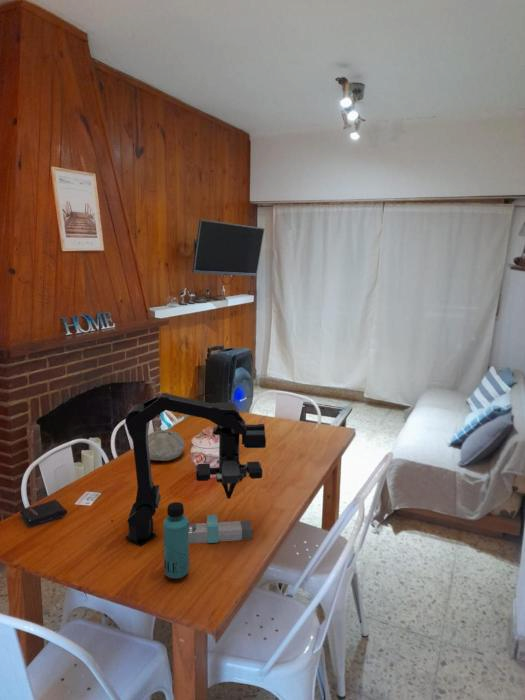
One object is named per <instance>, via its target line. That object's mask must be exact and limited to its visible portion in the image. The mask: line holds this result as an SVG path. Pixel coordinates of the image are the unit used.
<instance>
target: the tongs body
mask: <svg viewBox="0 0 525 700" xmlns="http://www.w3.org/2000/svg"><path fill="white" fill-rule="evenodd" d="M195 524H196V523H195V522H194V523H193V522H191V523H189V522H188V545H189V544H204V543H208V530H207V527H204V528H196V525H195ZM249 539H250V540H252V539H253V528H252V524H251V525H236V526H220V527H218V543H219V542H229V541H230V542H231V541H246V540H249Z"/></svg>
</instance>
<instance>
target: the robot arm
mask: <svg viewBox="0 0 525 700" xmlns="http://www.w3.org/2000/svg"><path fill="white" fill-rule="evenodd" d="M239 409H240V408H239V407H238V406H237V405H236V404H235V403H233V402H224V401H223V402H220V401H219V402H206V401H202V400H201V401H200V400H197V399H191V398H187V397H184V396H183V397H182V396H179V395H174V394H171V393H168V392H162V393H160V394H159V395H157V396H155V397H153V398H151V399H149V400H146V402H143V403H136V404H134V405H133V406H132V407H131V408H130V410H129V411H128V413H127V415H126V416H125V420H124V423H125V426H126V430H127V432H128V434H129V437H130V438H131V440H132V444H133V446H132V447H133V455H134V465H135V472H136V473H135V474H136V483H137V492H136V497H135V502H133V504H132V506H131V508H130V512H129V515H128V517H127V523H128V535H126V536H125V538H124V539H125V540H126V541H128V542H131V543H133V544H135V545H137V546H139V547H141V546H144V545H145V544H146V543H148V542H149V541H150V540H152V539H153V538H155V537H157V535H158V534H157V533H156V532H154V518H153V517H154V515H155V514H156V510H157V509H159V506H160V501H161V494H160V485H159V484H158V485H155V483H154V482H153V479H152V478H153V477H152V465H151V460H150V455H149V444H148V435H149V429H150V422H152V420H154V419H156V418H157V416H159V415H160V414H161V413H163V412H164V411H167V412H173V413H177V414H183V415H187V416H191V417H197V418H202V419H206V420H209V421H210V422H211V423H213V424H214V425H216V426H215V427H213V428H212V435H213V436H218V437H219V438H218V443H219V444H218V467H211V466H210V465H211V463H208V462H207V463H197V465H196V467H195V469H196V470H195V473H196V474H195V475H196V477H195V478H196V479H195V480H196V481H197V482H205V481H207V482H208V481H209V480H210V479H211V476H212V475H215V477H216V478H215V479H216V482H217V483H220V485H222V487H223V489H224V492H225V495H226V498H227V500H228V499H229V500H230V499H231V497H232V495H233V493H234V490H235V487H236V486H237V484H239V483H240V482H242V481H243V479H244V478H247V474H248V477H249V478H250V479H252V480H255V479H262V478H263V468H262V465H261V463H260V462H259V461H246V464H242V463H240V435H241V445H243V448H245V449H265V448H266V446H267V439H266V429H265V428H266V426H265V424H264V423H258V424H246V421H245V420H244V418H243V417H242V416H241V415H240V410H239ZM228 484H229V485H228Z"/></svg>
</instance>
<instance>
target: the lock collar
mask: <svg viewBox="0 0 525 700" xmlns="http://www.w3.org/2000/svg"><path fill="white" fill-rule="evenodd" d="M218 520H219V518H218V514H207V515H206V523H207V530H208V542H207V544H212V543H213V544H216V543H219V542H218V522H219V521H218Z"/></svg>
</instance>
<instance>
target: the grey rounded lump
mask: <svg viewBox="0 0 525 700" xmlns="http://www.w3.org/2000/svg"><path fill="white" fill-rule="evenodd" d="M185 443H186V440H185V439H184V438H183V437H182V435H181V434H179V433H178V432H176V430H174V431H173V430H167V429H165V430H164V429H161V430H155V431H154V432H150V433H148V444H149V455H150V461H161V462H166V461H171V460H174V459H176V458H178V457H180V456H181V455H182V454H183V452H184V450H185V448H186V447H185Z"/></svg>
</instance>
